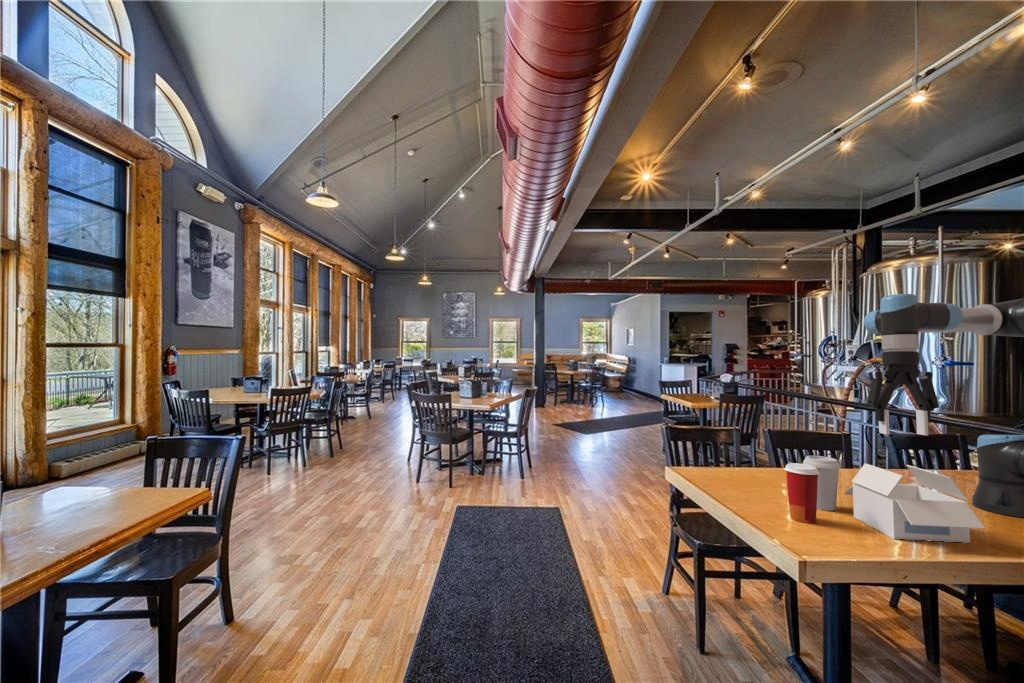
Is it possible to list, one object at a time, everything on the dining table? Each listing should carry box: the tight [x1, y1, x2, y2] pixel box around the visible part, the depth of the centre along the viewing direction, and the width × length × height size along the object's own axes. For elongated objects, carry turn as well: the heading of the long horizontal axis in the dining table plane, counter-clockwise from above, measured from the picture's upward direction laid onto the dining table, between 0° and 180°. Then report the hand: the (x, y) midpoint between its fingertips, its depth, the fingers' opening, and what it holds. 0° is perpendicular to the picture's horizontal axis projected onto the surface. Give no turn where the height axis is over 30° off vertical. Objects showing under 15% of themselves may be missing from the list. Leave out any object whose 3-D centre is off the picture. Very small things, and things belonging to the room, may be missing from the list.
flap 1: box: [851, 463, 905, 497], centre depth 114 cm, size 6×14×1 cm
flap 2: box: [905, 464, 969, 501], centre depth 112 cm, size 6×14×1 cm
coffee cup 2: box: [802, 455, 842, 512], centre depth 130 cm, size 10×10×15 cm
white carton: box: [844, 482, 986, 544], centre depth 113 cm, size 17×25×10 cm
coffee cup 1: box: [783, 462, 819, 524], centre depth 120 cm, size 8×8×15 cm
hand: (903, 434), depth 114 cm, fingers open, 9 cm apart
